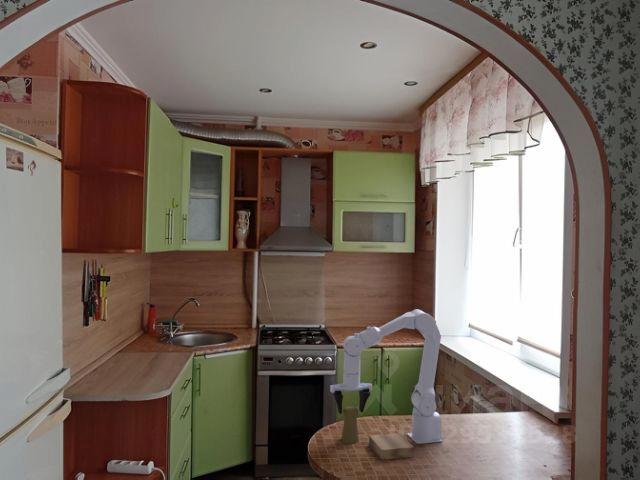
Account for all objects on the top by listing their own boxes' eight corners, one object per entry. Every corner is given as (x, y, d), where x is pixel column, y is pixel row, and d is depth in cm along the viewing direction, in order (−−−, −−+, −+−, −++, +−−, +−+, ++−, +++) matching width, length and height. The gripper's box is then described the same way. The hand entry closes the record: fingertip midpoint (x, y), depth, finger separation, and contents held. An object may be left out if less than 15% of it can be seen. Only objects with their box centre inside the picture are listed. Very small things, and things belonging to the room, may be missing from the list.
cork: (357, 444, 160) (358, 411, 160) (339, 442, 161) (340, 409, 161) (359, 437, 166) (360, 405, 166) (342, 435, 167) (343, 403, 167)
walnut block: (399, 442, 163) (399, 433, 163) (413, 456, 152) (414, 447, 152) (369, 444, 160) (369, 435, 160) (381, 459, 149) (381, 450, 149)
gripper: (367, 368, 169) (366, 406, 169) (328, 369, 165) (327, 409, 165) (375, 373, 162) (373, 413, 162) (333, 375, 158) (332, 416, 159)
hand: (350, 412), depth 163 cm, fingers open, 7 cm apart
